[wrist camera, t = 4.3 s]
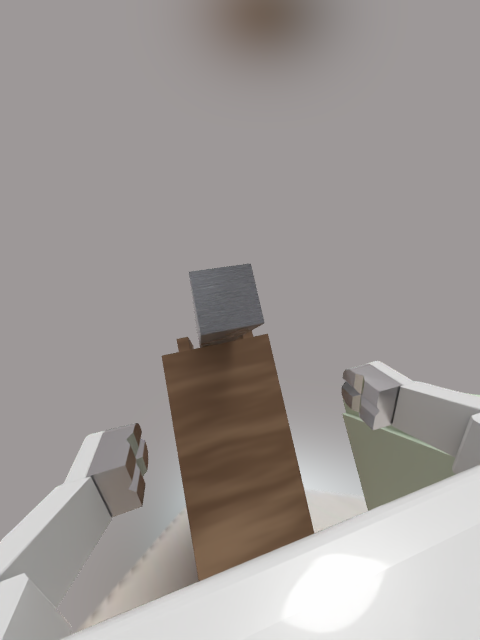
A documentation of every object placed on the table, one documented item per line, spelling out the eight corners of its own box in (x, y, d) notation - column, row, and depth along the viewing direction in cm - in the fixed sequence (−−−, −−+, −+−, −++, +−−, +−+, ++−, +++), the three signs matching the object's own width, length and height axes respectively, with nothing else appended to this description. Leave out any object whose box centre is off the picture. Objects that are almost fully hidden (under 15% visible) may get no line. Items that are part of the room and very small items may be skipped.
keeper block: (691, 733, 12) (560, 403, 14) (596, 829, 10) (466, 439, 13) (448, 548, 24) (398, 383, 26) (386, 579, 22) (338, 400, 24)
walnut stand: (340, 644, 18) (265, 321, 22) (220, 710, 16) (159, 342, 20) (280, 522, 32) (240, 336, 35) (211, 549, 30) (176, 349, 33)
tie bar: (264, 323, 10) (250, 263, 11) (201, 335, 10) (188, 271, 10) (221, 347, 33) (217, 327, 33) (200, 351, 32) (197, 331, 33)
